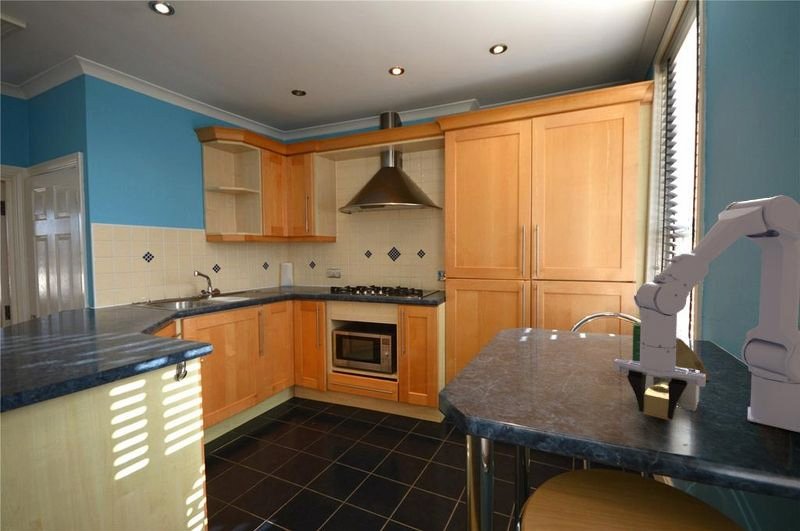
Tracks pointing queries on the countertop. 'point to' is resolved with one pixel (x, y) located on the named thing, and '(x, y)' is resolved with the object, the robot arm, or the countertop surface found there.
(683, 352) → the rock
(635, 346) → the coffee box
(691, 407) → the housing
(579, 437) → the countertop surface
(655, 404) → the gold rounded block
